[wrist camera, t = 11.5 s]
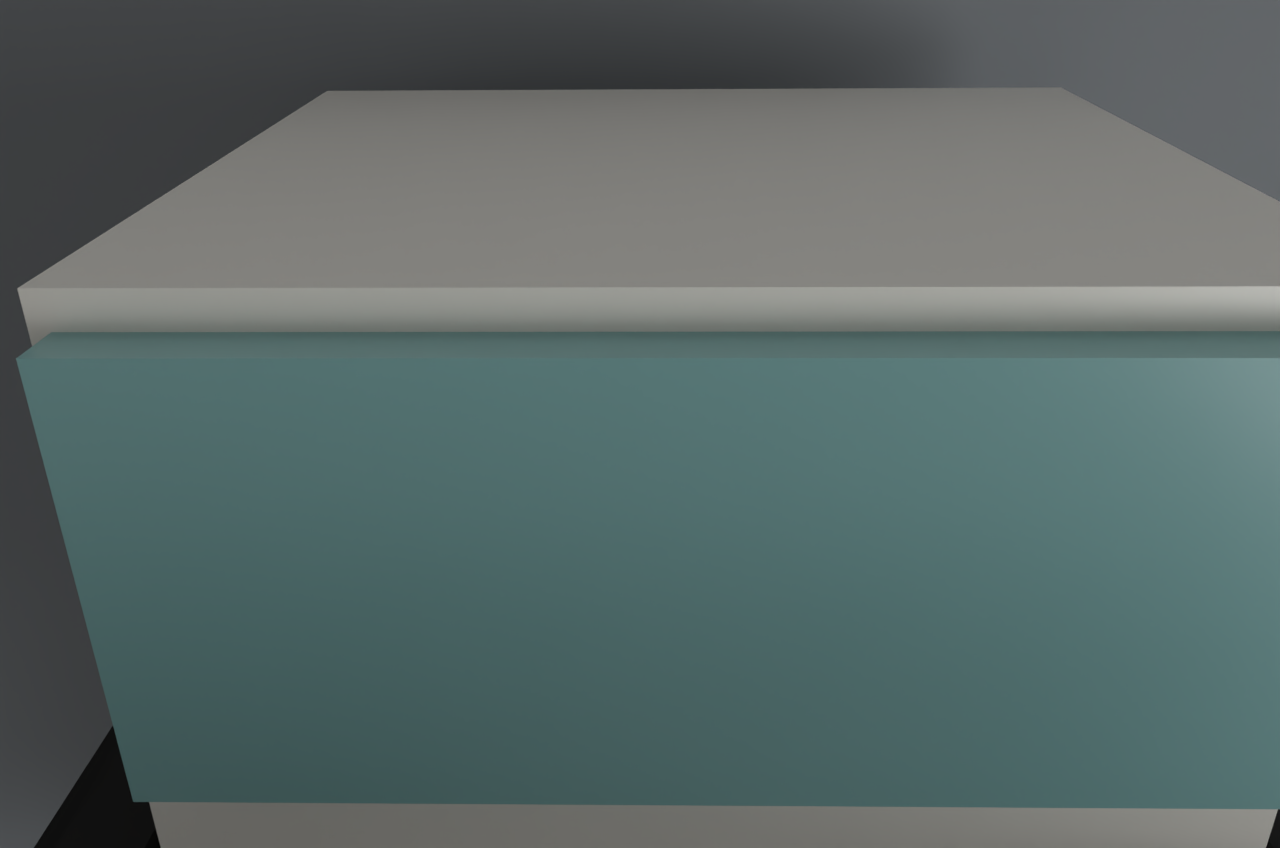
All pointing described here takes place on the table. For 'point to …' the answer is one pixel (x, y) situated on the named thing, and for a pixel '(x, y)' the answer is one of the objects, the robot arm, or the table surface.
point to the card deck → (680, 476)
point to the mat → (474, 60)
